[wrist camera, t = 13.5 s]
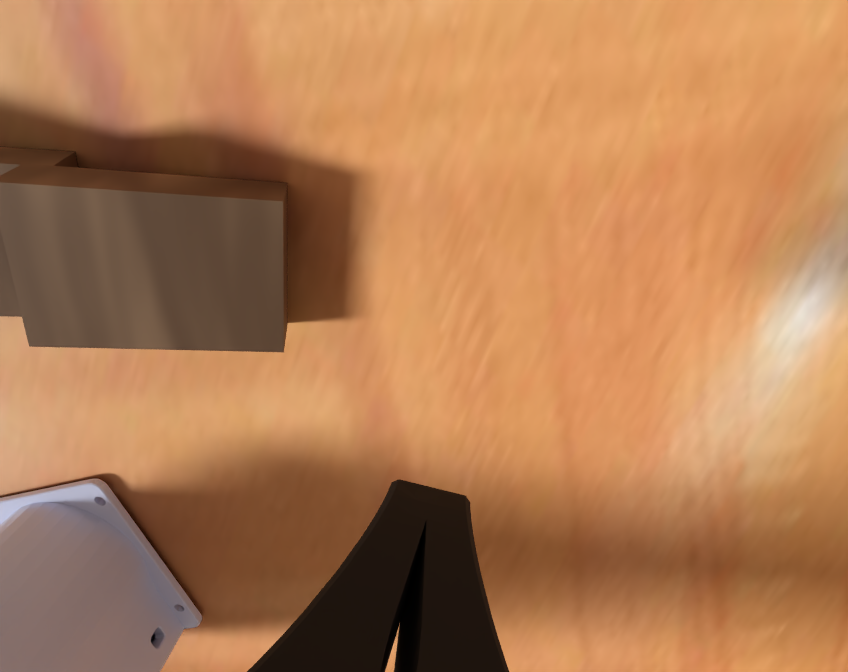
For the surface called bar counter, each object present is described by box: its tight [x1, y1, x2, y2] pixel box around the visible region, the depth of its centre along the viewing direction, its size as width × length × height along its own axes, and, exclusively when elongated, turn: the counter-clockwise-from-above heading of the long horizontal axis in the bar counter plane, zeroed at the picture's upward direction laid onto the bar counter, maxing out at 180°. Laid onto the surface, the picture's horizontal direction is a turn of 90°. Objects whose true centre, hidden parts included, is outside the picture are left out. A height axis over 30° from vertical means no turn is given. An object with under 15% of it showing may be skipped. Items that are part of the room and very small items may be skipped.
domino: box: [0, 164, 287, 352], centre depth 18 cm, size 2×5×8 cm
